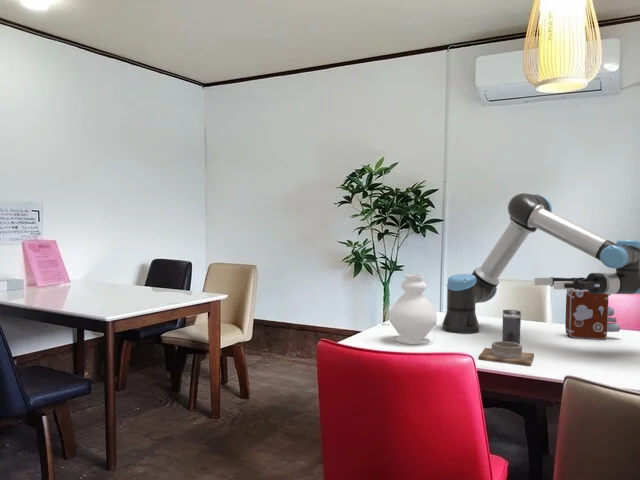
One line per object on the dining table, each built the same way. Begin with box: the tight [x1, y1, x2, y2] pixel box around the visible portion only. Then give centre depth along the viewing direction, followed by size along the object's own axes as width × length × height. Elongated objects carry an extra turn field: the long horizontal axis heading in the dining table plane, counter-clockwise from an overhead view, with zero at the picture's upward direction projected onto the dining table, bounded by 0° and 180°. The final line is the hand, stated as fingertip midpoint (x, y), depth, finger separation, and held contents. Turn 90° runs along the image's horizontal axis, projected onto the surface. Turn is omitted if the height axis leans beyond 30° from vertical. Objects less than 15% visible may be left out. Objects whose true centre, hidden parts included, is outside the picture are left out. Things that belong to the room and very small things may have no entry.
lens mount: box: [477, 340, 535, 367], centre depth 171 cm, size 16×14×4 cm
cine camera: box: [565, 288, 621, 340], centre depth 206 cm, size 9×19×20 cm, turn 78°
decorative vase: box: [388, 274, 438, 345], centre depth 194 cm, size 18×18×25 cm
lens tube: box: [501, 309, 522, 345], centre depth 182 cm, size 6×6×14 cm
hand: (544, 283), depth 181 cm, fingers open, 13 cm apart
